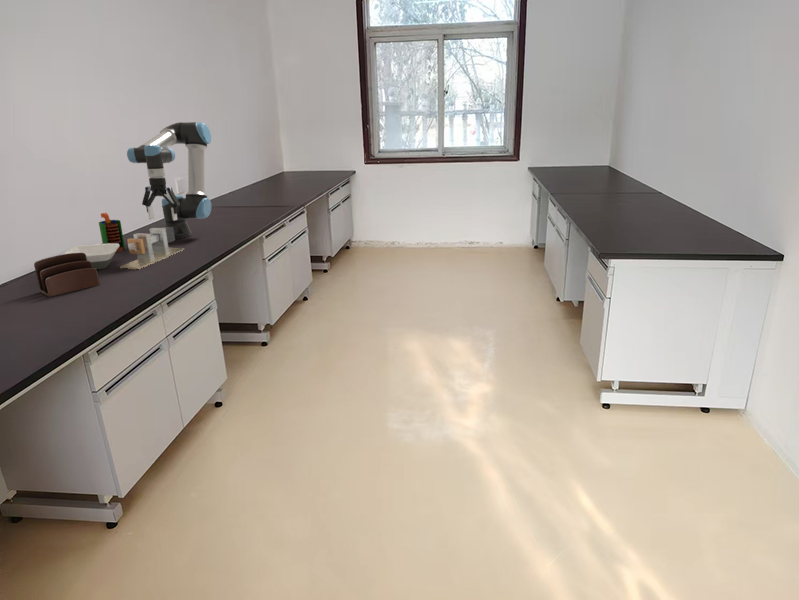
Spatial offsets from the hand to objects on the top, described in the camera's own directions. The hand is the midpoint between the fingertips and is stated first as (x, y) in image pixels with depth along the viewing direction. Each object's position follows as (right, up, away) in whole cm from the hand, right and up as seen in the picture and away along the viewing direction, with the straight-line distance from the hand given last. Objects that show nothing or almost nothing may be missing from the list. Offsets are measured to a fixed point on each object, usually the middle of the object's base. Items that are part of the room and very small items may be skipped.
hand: (163, 219), depth 274 cm
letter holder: (-19, -37, -47) cm, 62 cm away
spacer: (-5, -19, -17) cm, 26 cm away
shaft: (-3, -15, -6) cm, 16 cm away
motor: (-31, -15, +10) cm, 36 cm away
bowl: (-25, -25, -17) cm, 40 cm away
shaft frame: (-3, -20, -5) cm, 21 cm away
